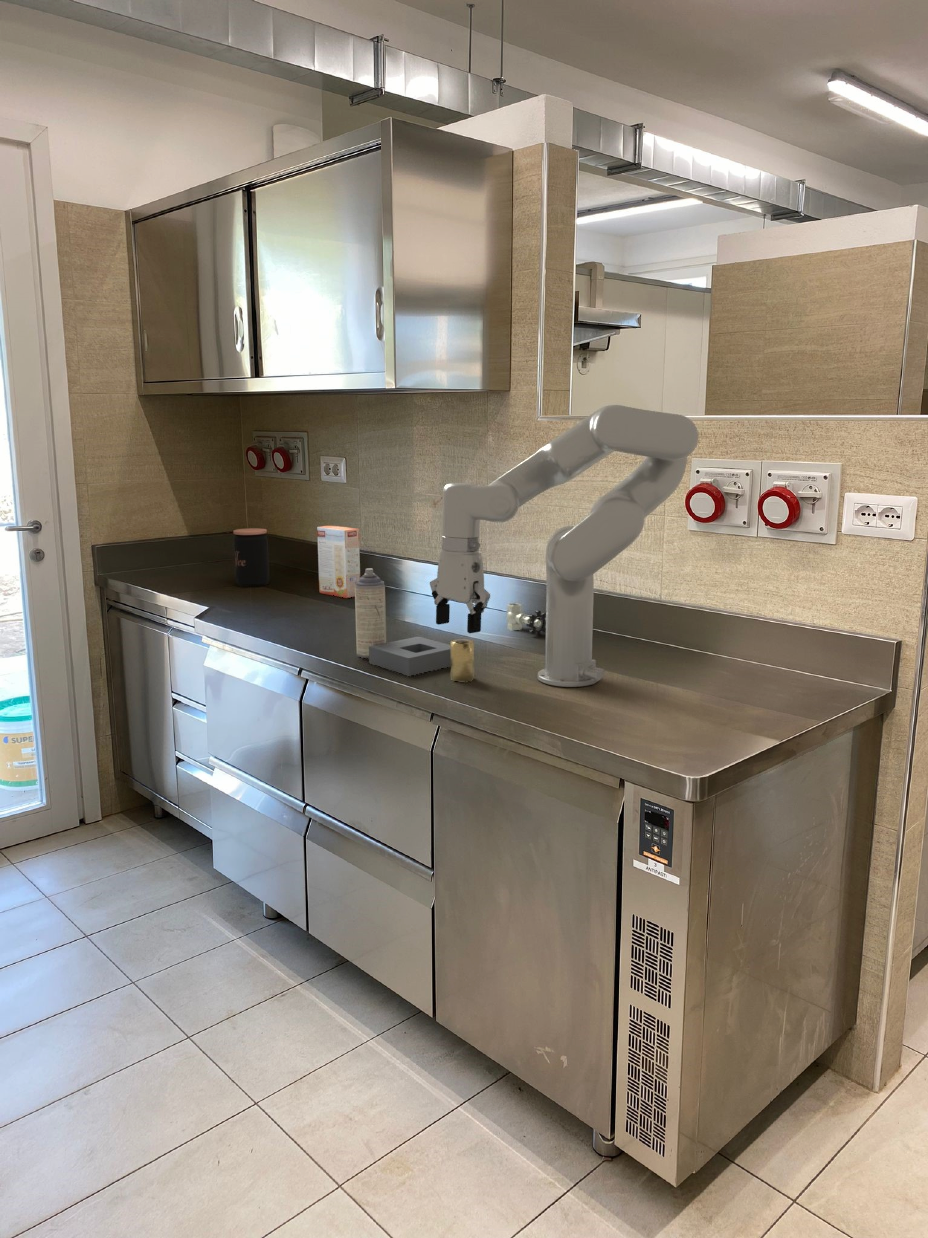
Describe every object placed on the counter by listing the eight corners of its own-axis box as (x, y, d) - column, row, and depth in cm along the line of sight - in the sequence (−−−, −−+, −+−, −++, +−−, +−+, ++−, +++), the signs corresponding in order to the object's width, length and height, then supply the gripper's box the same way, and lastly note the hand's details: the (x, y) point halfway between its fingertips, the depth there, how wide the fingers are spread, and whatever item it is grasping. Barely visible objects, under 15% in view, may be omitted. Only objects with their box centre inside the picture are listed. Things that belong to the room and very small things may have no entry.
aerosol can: (391, 653, 213) (389, 567, 209) (378, 660, 207) (376, 572, 203) (365, 650, 216) (362, 565, 212) (351, 657, 210) (348, 570, 205)
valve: (499, 629, 237) (528, 638, 227) (499, 604, 236) (529, 612, 226) (519, 626, 241) (549, 634, 231) (519, 601, 239) (549, 609, 230)
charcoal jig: (458, 664, 203) (458, 647, 202) (408, 676, 194) (408, 658, 193) (418, 653, 213) (418, 636, 212) (369, 664, 204) (368, 646, 203)
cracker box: (362, 596, 282) (360, 528, 277) (346, 599, 278) (343, 529, 273) (334, 590, 291) (332, 524, 287) (318, 593, 287) (316, 526, 283)
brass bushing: (478, 679, 191) (478, 642, 190) (461, 683, 188) (461, 645, 187) (463, 674, 195) (462, 638, 193) (445, 679, 192) (445, 641, 190)
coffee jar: (235, 583, 306) (232, 528, 302) (268, 581, 309) (265, 527, 305) (237, 588, 296) (234, 532, 292) (271, 586, 299) (268, 531, 295)
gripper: (503, 548, 182) (500, 633, 186) (446, 538, 194) (444, 618, 198) (475, 551, 177) (472, 638, 181) (418, 541, 190) (417, 622, 193)
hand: (458, 627), depth 189 cm, fingers open, 9 cm apart
